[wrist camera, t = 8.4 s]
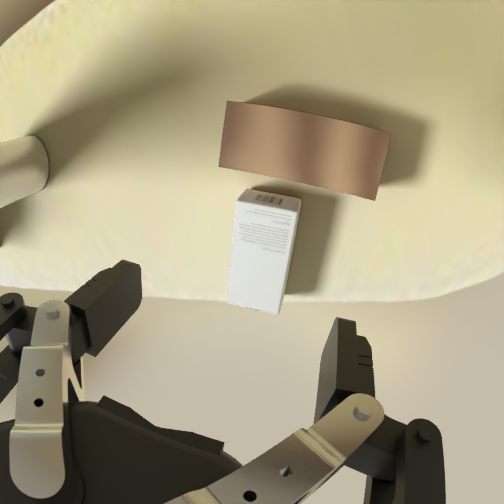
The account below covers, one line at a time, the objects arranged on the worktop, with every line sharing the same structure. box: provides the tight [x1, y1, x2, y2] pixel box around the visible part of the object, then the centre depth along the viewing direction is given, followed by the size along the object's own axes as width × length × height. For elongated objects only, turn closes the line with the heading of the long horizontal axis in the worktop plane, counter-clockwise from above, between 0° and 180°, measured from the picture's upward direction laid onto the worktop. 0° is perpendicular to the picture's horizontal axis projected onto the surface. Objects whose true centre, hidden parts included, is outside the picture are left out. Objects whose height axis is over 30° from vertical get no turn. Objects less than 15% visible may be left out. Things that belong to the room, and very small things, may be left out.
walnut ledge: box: [219, 101, 391, 201], centre depth 27 cm, size 14×6×5 cm, turn 81°
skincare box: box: [227, 189, 301, 314], centre depth 33 cm, size 6×4×12 cm
